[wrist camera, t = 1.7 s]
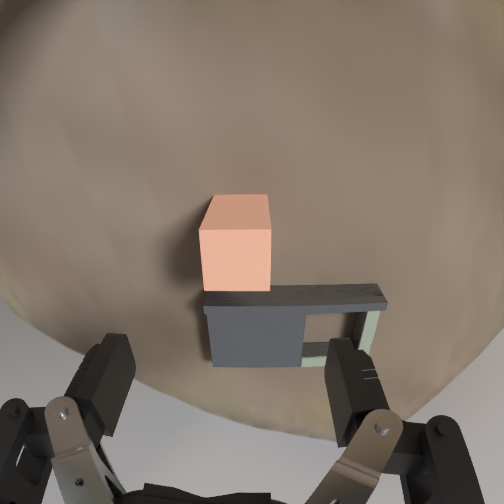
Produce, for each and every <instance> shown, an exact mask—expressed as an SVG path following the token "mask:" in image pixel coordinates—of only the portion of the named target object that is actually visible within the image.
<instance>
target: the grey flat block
mask: <svg viewBox="0 0 504 504" xmlns="http://www.w3.org/2000/svg"><path fill="white" fill-rule="evenodd" d="M387 304H388V302H387V300H386V299H385V297H384V295H383V293H382V292H381V290H380V288H379V286H378V285H377V284H348V285H300V286H270V291H207V292H206V296H205V301H204V305H203V308H204V314H207V322H208V331H209V339H210V347H211V355H212V363H213V367H314V366H325V363H326V358H327V353H328V347H329V342H315V343H303V338H304V329H305V320H306V314H320V313H346V312H358V315H357V320H356V324H355V329H354V333H353V337H352V344H353V346H354V349H355V350H364V351H365V352H366V353H367V354H369V351H370V348H371V344H372V341H373V337H374V333H375V330H376V326H377V322H378V318H379V315H380V311H383V310H386V307H387Z"/></svg>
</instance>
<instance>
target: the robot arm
mask: <svg viewBox="0 0 504 504" xmlns="http://www.w3.org/2000/svg"><path fill="white" fill-rule="evenodd" d="M135 370H136V365H135V360H134V357H133V354H132V350H131V347H130V344H129V341H128V338H127V336H126V335H125V334H117V333H107V334H106V336H105V337H104V339H103V341H102V343H101V344H96V345H95V346H93V347H92V348H91V349H90V350H89V351H88V352H87V354H86V356H85V357H84V359H83V362H82V363H81V365H80V366H79V370H77V372H76V374H75V376H74V377H73V379H72V381H71V383H70V385H69V387H68V389H67V391H66V393H65V395H64V396H63V397H57V398H55V399H53V400H51V401H50V402H49V403H48V405H47V406H46V407H33V408H29V407H28V405H27V404H26V403H25V401H24V400H22V399H19V398H14V399H10V400H8V401H7V402H6V403H4V404H3V406H2V407H1V409H0V504H41V503H42V499H43V496H44V492H45V489H46V486H47V483H48V479H49V476H50V473H51V470H52V467H53V470H54V473H55V476H56V479H57V482H58V485H59V488H60V491H61V494H62V497H63V500H64V502H65V504H286V503H284V502H280V501H277V500H272V499H271V493H234V494H228V495H222V496H216V497H209V498H205V497H200V496H197V495H194V494H191V493H188V492H185V491H182V490H180V489H177V488H174V487H167V486H161V485H154V484H148V483H145V484H144V488H143V490H136V491H131V492H128V493H127V492H126V491H125V489H124V488H123V486H122V484H121V483H120V481H119V480H118V478H117V476H116V474H115V472H114V470H113V468H112V465H111V463H110V461H109V459H108V457H107V454H106V452H105V450H104V448H103V445H102V443H101V442H100V441H101V438H102V435H106V436H110V437H113V434H114V431H115V428H116V425H117V422H118V419H119V416H120V414H121V411H122V408H123V405H124V402H125V400H126V397H127V394H128V392H129V389H130V386H131V384H132V381H133V378H134V375H135ZM325 383H326V388H327V392H328V397H329V402H330V407H331V413H332V418H333V423H334V428H335V434H336V439H337V444H338V447H347V448H346V450H345V451H344V453H343V454H342V456H341V457H340V459H339V460H338V461H336V462H335V464H334V465H333V466H332V468H331V469H330V470H329V472H328V473H327V475H326V476H325V477H324V479H323V480H322V481H321V483H320V484H319V486H318V487H317V488H316V490H315V491H314V492H313V494H312V495H311V496H310V497H309V499H308V500H307V501H306V503H305V504H366V503H367V501H368V499H369V498H370V496H371V494H372V492H373V491H374V489H375V487H376V486H377V484H378V482H379V477H380V475H381V473H386V474H398V475H400V480H401V485H402V490H403V495H404V501H405V504H485V503H484V499H483V496H482V493H481V489H480V486H479V483H478V479H477V476H476V473H475V470H474V467H473V464H472V461H471V458H470V455H469V452H468V449H467V446H466V444H465V441H464V438H463V435H462V433H461V430H460V427H459V425H458V424H457V423H456V421H455V420H453V419H452V418H450V417H448V416H444V415H438V416H435V417H433V418H431V419H430V420H429V421H428V422H427V424H423V423H412V422H406V421H403V420H401V418H400V417H399V416H398V415H397V414H396V413H394V412H392V411H391V410H390V408H389V406H388V403H387V400H386V397H385V394H384V392H383V389H382V386H381V383H380V380H379V379H378V375H377V372H376V370H375V367H374V364H373V362H372V359H371V357H370V356H369V355H368V354H367V353H366V352H365V351H364V350H355V349H354V346H353V344H352V341H351V339H350V338H349V337H348V338H331V339H330V342H329V347H328V353H327V358H326V363H325ZM22 446H24V449H23V452H22V454H21V457H20V459H19V462H18V465H17V467H16V462H17V459H18V456H19V454H20V451H21V449H22Z"/></svg>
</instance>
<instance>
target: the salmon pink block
mask: <svg viewBox="0 0 504 504" xmlns="http://www.w3.org/2000/svg"><path fill="white" fill-rule="evenodd" d="M199 238H200V250H201V261H202V272H203V282H204V291H270V270H271V223H270V214H269V206H268V197H267V194H255V195H214V196H213V199H212V201H211V203H210V205H209V208H208V210H207V212H206V215H205V217H204V219H203V221H202V224H201V226H200V228H199Z"/></svg>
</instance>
